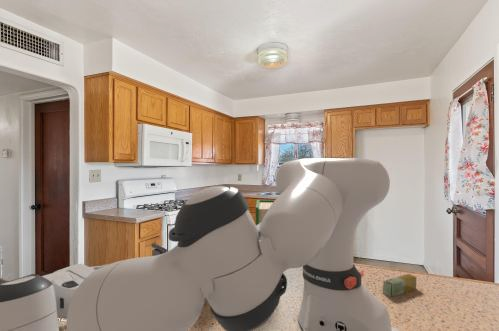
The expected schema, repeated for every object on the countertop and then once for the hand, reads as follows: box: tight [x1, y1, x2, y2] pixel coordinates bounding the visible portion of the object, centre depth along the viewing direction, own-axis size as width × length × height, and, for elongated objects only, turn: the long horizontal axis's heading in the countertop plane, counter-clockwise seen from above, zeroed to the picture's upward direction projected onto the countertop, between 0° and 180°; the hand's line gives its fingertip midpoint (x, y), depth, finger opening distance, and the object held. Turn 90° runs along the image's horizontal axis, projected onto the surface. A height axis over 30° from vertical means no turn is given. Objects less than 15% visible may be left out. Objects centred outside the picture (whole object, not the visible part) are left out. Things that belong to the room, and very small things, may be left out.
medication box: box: [382, 273, 417, 298], centre depth 79 cm, size 12×3×4 cm, turn 117°
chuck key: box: [151, 242, 168, 256], centre depth 80 cm, size 8×4×13 cm, turn 45°
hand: (118, 271), depth 70 cm, fingers open, 8 cm apart
